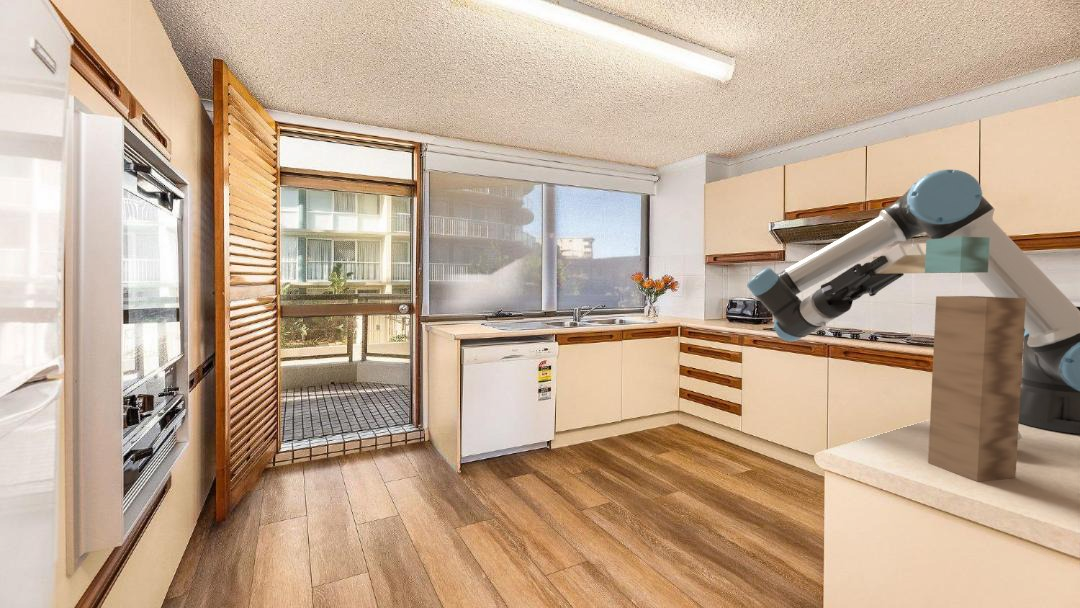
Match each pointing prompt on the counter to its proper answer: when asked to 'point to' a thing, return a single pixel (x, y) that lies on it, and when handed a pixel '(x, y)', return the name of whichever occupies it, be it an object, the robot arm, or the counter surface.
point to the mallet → (946, 257)
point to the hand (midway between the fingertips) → (911, 249)
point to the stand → (976, 385)
